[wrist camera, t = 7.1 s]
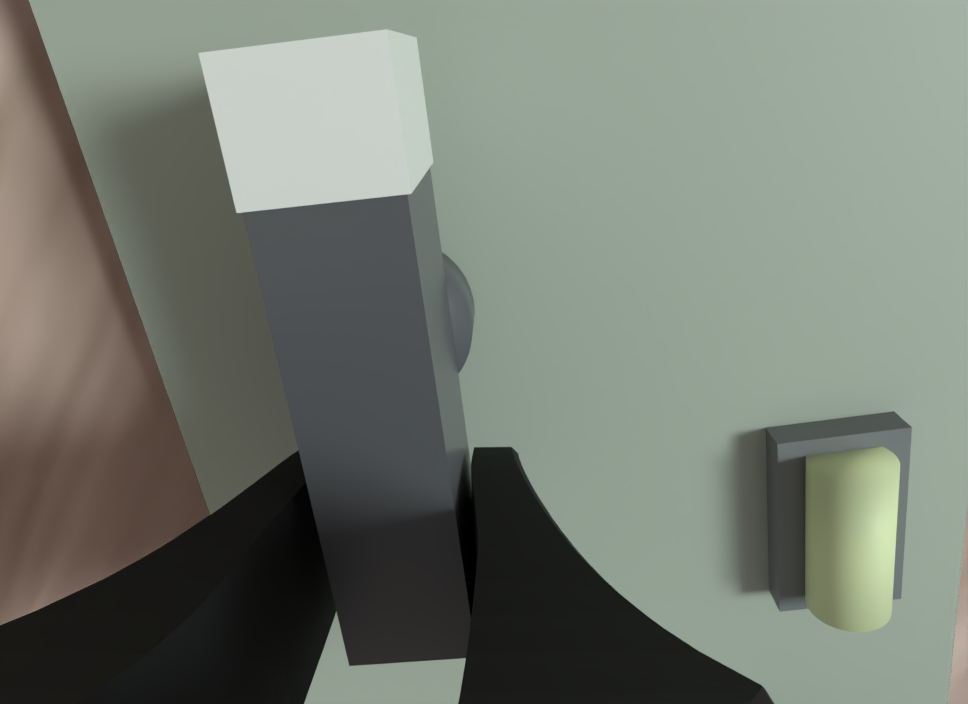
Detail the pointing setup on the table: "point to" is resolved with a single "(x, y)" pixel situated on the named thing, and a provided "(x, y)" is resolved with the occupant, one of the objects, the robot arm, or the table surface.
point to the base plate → (622, 297)
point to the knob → (360, 324)
